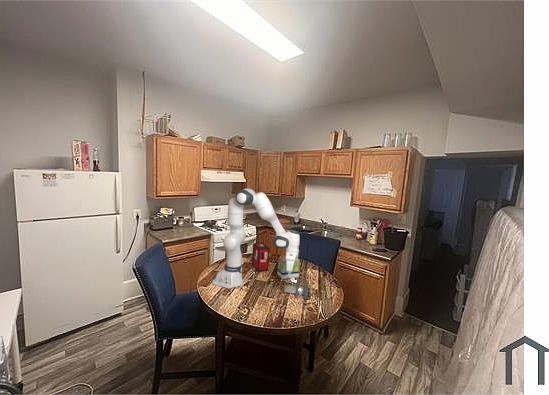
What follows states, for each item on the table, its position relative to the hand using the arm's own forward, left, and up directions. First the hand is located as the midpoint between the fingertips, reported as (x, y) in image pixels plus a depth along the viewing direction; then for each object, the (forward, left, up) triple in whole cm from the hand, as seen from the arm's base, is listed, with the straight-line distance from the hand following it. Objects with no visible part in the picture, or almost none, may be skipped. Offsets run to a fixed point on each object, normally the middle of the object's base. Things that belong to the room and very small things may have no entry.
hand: (290, 272), depth 156 cm
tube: (+6, 0, -14) cm, 15 cm away
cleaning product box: (-30, +33, -15) cm, 47 cm away
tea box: (-4, +25, -15) cm, 29 cm away
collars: (+10, 0, -14) cm, 18 cm away
